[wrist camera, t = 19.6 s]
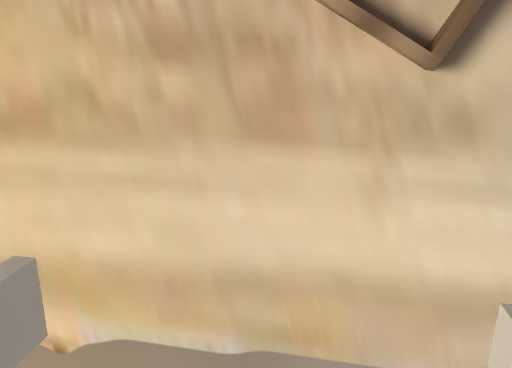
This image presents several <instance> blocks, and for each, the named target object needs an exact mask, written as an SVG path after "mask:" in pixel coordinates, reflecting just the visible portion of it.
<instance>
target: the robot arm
mask: <svg viewBox="0 0 512 368" xmlns="http://www.w3.org/2000/svg"><path fill="white" fill-rule="evenodd" d="M47 335H48V334H47V328H46V321H45V315H44V308H43V302H42V295H41V289H40V282H39V276H38V269H37V263H36V258H30V257H20V256H12V257H11V258H9V259H7V260H6V261H4V262H3V263H1V264H0V368H15V367H16V366H17V365H18V364H19V363H20V362H21V361H22V360H23V359H24V358H25V357H26V356H27V355H28V354H29V353H30V352H31V351H32V350H33V349H34V348H35V347H36V346H37V345H38V344H39V343H40V342H41V341H42V340H43V339H44V338H45V337H46V336H47ZM487 368H512V304H501V303H500V308H499V312H498V317H497V322H496V327H495V332H494V336H493V341H492V346H491V351H490V355H489V360H488V365H487Z"/></svg>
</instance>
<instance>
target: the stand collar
mask: <svg viewBox="0 0 512 368" xmlns="http://www.w3.org/2000/svg"><path fill="white" fill-rule="evenodd" d="M316 1H318V2H319V3H321V4H322V5H324V6H325V7H327V8H329V9H330V10H332V11H333V12H335V13H337V14H338V15H340V16H341V17H343V18H344V19H346V20H348V21H349V22H351V23H352V24H354V25H355V26H357V27H359V28H360V29H362V30H363V31H365V32H366V33H368V34H370V35H371V36H373V37H374V38H376V39H378V40H379V41H381V42H382V43H384V44H385V45H387V46H389V47H390V48H392V49H393V50H395V51H396V52H398V53H400V54H401V55H403V56H404V57H406V58H408V59H409V60H411V61H412V62H414V63H415V64H417V65H419V66H420V67H422V68H423V69H425V70H430V71H434V70H435V69H436V68H437V66H438V65H439V64H440V62H441V61H442V59H443V58H444V57H445V55H446V54H447V53H448V51H449V50H450V48H451V47H452V46H453V44H454V43H455V42H456V40H457V39H458V37H459V36H460V35H461V33H462V32H463V31H464V29H465V28H466V26H467V25H468V24H469V22H470V21H471V20H472V18H473V17H474V15H475V14H476V13H477V11H478V10H479V8H480V7H481V6H482V4H483V3H484V2H485V0H461V1H460V2H459V3H458V5H457V6H456V8H455V9H454V10H453V12H452V13H451V15H450V16H449V18H448V19H447V20H446V22H445V23H444V25H443V26H442V27H441V29H440V30H439V32H438V33H437V35H436V36H435V37H434V39H433V40H432V42H431V43H430V44H429V46H428V47H427V49H425V48H423V47H422V46H420V45H419V44H417V43H415V42H414V41H412V40H411V39H409V38H408V37H406V36H404V35H403V34H401V33H400V32H398V31H397V30H395V29H393V28H392V27H390V26H389V25H387V24H385V23H384V22H382V21H381V20H379V19H378V18H376V17H374V16H373V15H371V14H370V13H368V12H367V11H365V10H363V9H362V8H360V7H359V6H357V5H356V4H354V3H352V2H351V1H349V0H316Z"/></svg>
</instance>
